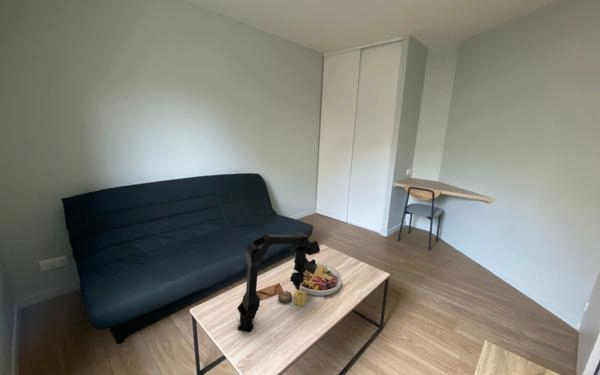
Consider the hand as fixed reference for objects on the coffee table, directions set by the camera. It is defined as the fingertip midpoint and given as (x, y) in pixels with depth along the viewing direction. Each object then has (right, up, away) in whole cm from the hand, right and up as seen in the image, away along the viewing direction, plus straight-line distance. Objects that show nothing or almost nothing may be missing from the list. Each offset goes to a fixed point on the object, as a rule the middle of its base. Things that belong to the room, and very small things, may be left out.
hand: (299, 284), depth 126 cm
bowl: (+11, -8, +22) cm, 26 cm away
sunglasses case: (-17, -10, +9) cm, 22 cm away
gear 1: (-8, -10, +4) cm, 13 cm away
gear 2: (0, -10, +2) cm, 11 cm away
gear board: (-4, -11, +3) cm, 12 cm away
